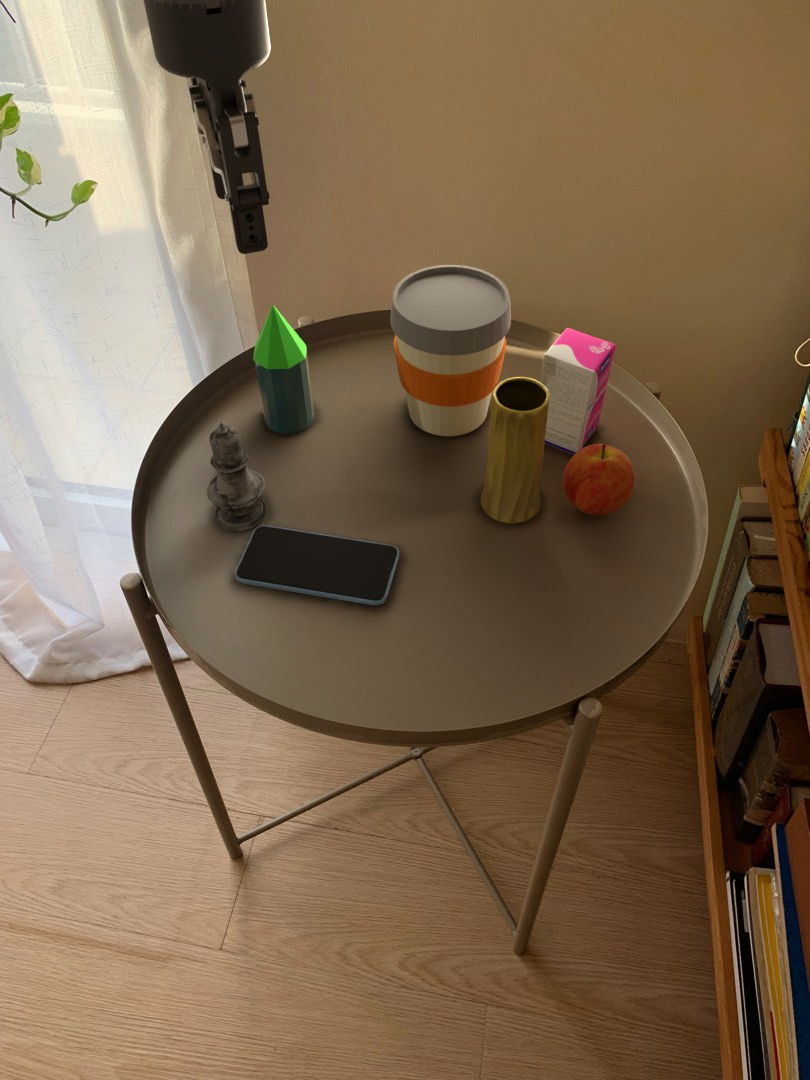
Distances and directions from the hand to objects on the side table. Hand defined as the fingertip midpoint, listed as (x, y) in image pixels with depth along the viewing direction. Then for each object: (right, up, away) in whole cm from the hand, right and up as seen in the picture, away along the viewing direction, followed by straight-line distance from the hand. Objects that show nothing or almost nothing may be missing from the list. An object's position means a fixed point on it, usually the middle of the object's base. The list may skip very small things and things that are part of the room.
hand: (241, 222), depth 67 cm
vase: (+23, -20, +25) cm, 40 cm away
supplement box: (+30, -12, +32) cm, 46 cm away
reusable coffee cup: (+17, -9, +35) cm, 40 cm away
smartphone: (+4, -27, +19) cm, 33 cm away
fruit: (+32, -21, +24) cm, 45 cm away
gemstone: (-1, -4, +27) cm, 28 cm away
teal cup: (-1, -10, +34) cm, 36 cm away
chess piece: (-5, -21, +24) cm, 33 cm away
